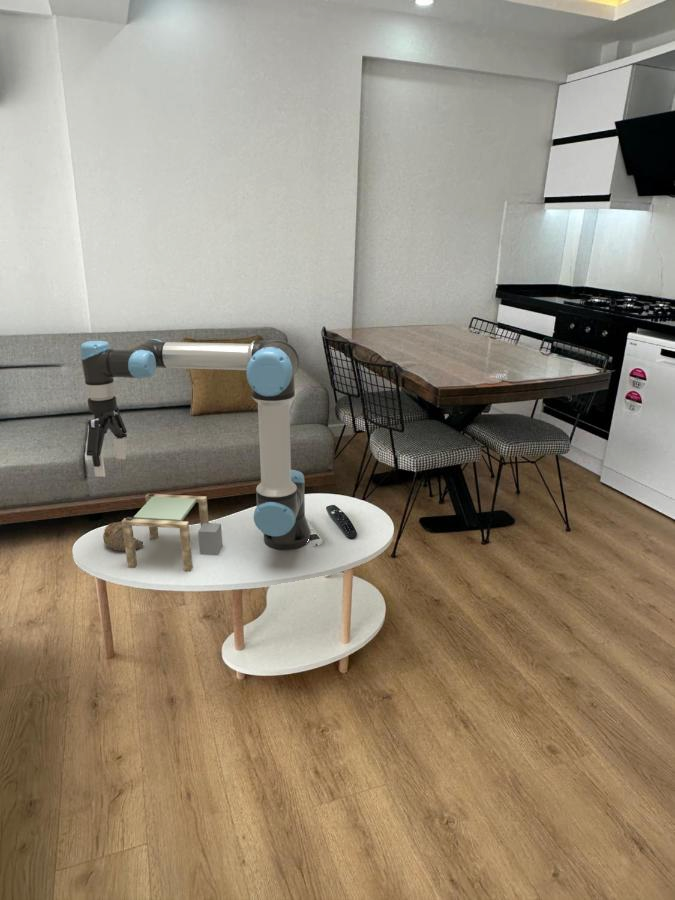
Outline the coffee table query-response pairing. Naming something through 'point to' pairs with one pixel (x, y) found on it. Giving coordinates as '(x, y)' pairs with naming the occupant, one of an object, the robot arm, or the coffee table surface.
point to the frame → (154, 525)
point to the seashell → (117, 537)
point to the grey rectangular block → (210, 539)
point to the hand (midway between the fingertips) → (111, 467)
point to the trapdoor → (165, 509)
